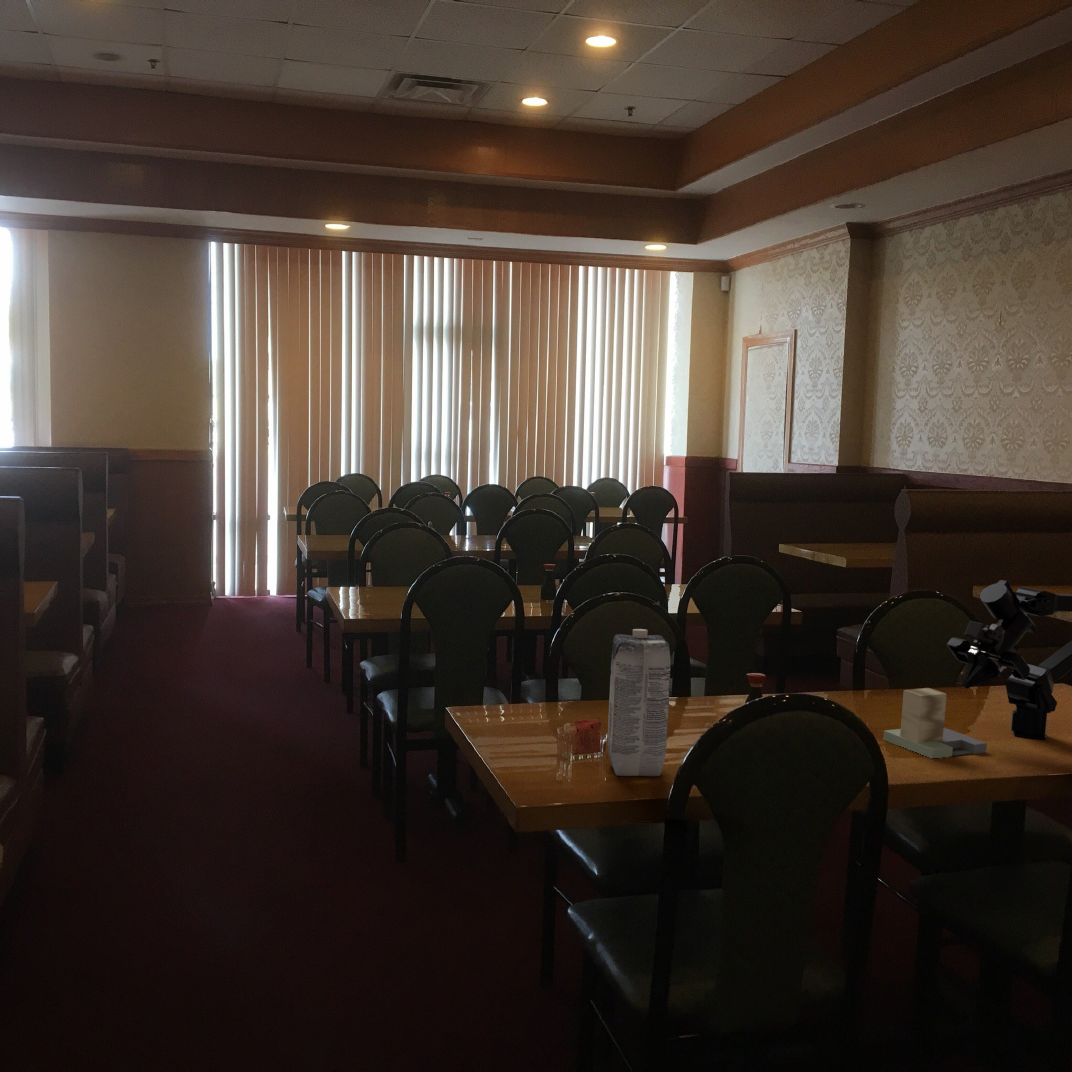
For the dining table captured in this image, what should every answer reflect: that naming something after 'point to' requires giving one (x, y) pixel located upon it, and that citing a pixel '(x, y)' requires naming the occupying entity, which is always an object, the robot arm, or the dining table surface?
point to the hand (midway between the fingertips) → (964, 686)
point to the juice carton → (638, 704)
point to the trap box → (939, 744)
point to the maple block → (923, 715)
